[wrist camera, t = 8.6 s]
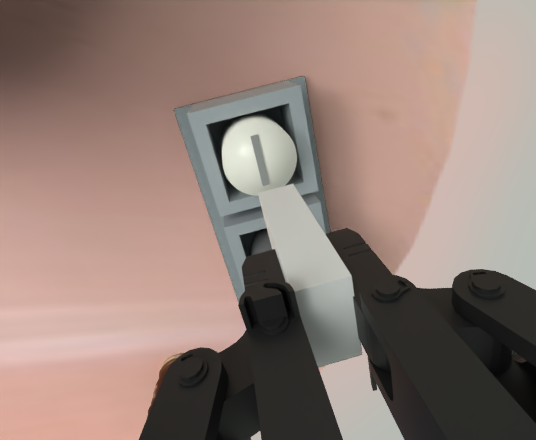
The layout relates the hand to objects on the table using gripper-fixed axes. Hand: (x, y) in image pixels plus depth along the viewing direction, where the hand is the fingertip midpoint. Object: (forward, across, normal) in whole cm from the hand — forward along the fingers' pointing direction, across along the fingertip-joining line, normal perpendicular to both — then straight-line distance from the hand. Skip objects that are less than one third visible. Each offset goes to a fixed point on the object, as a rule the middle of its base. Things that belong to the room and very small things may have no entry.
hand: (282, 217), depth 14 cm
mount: (+17, 0, -10) cm, 20 cm away
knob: (+16, 0, -1) cm, 16 cm away
